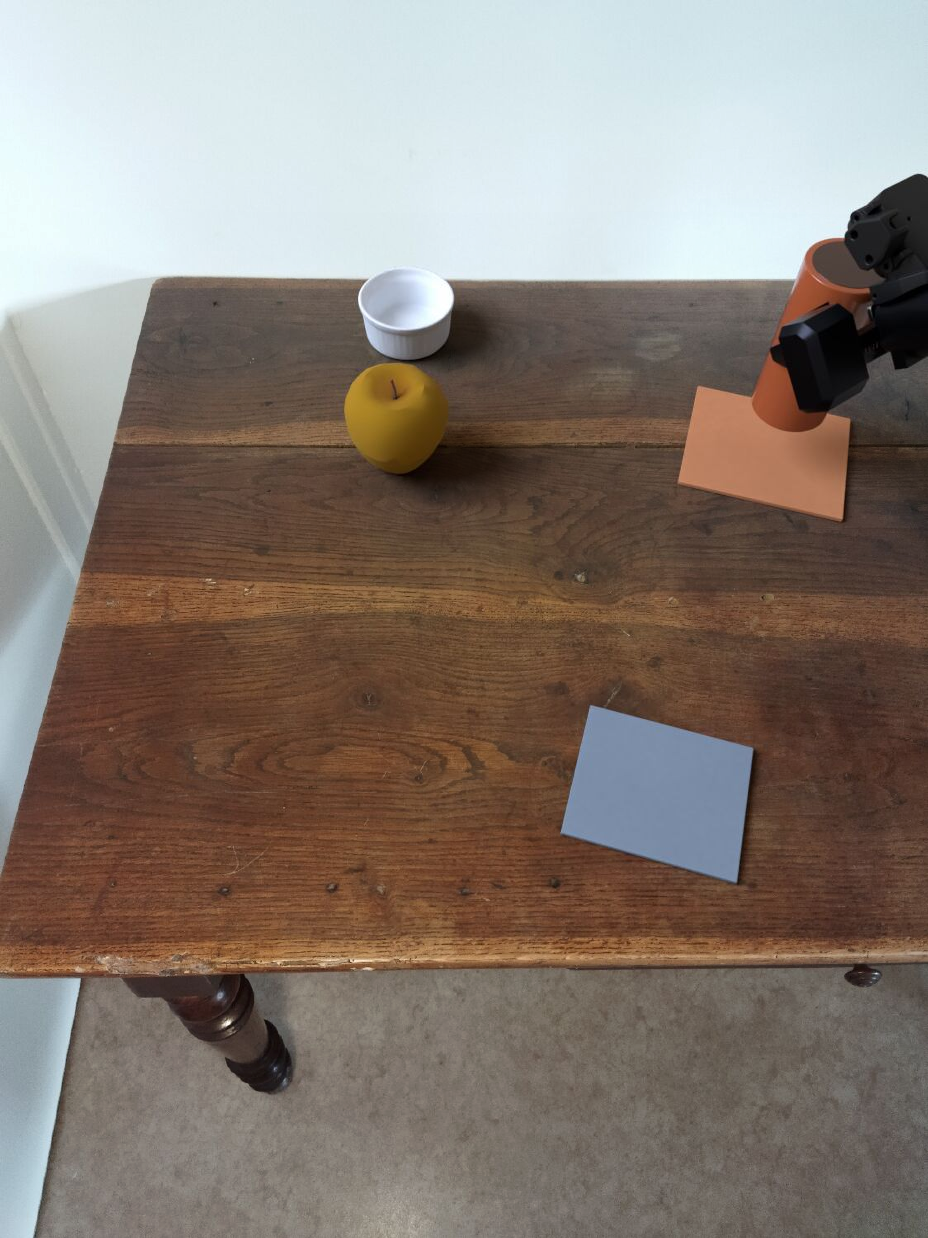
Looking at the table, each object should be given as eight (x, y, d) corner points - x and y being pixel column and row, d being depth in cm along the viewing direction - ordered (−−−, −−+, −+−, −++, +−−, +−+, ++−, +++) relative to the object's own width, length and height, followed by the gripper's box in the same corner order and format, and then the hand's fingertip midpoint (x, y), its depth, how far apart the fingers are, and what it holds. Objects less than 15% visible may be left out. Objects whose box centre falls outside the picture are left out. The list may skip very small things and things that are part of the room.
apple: (455, 427, 79) (457, 351, 72) (437, 501, 75) (437, 428, 67) (362, 413, 80) (354, 336, 72) (339, 485, 76) (328, 411, 68)
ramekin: (343, 330, 85) (338, 293, 82) (412, 290, 89) (411, 252, 85) (403, 380, 82) (401, 343, 78) (472, 336, 85) (474, 299, 82)
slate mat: (752, 750, 64) (753, 747, 64) (735, 884, 59) (737, 882, 59) (589, 707, 65) (590, 704, 65) (560, 834, 60) (560, 832, 60)
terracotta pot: (839, 425, 72) (911, 284, 61) (769, 438, 72) (829, 298, 60) (806, 373, 76) (868, 230, 64) (739, 385, 75) (790, 243, 63)
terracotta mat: (849, 421, 81) (850, 418, 80) (841, 522, 75) (843, 519, 74) (697, 388, 82) (698, 385, 82) (677, 484, 77) (678, 481, 76)
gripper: (1062, 117, 55) (857, 192, 69) (859, 219, 49) (680, 278, 63) (1092, 292, 59) (891, 330, 73) (906, 407, 53) (726, 423, 67)
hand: (802, 337), depth 69 cm, fingers closed on terracotta pot, 6 cm apart
